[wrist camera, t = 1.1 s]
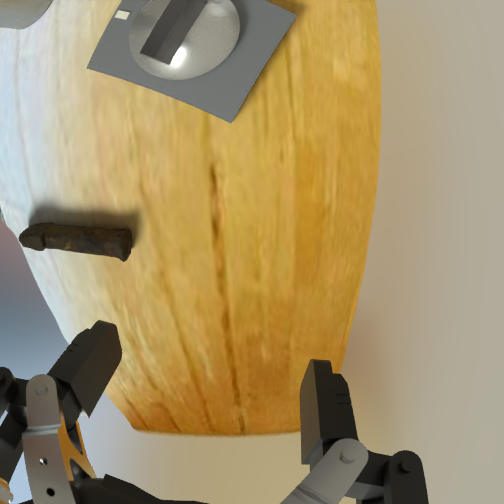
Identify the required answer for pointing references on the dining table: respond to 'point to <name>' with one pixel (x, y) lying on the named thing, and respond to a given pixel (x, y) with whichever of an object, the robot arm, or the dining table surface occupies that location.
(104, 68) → the dial panel
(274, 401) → the dining table surface
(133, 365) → the dining table surface
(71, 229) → the hand tool
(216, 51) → the dial knob
